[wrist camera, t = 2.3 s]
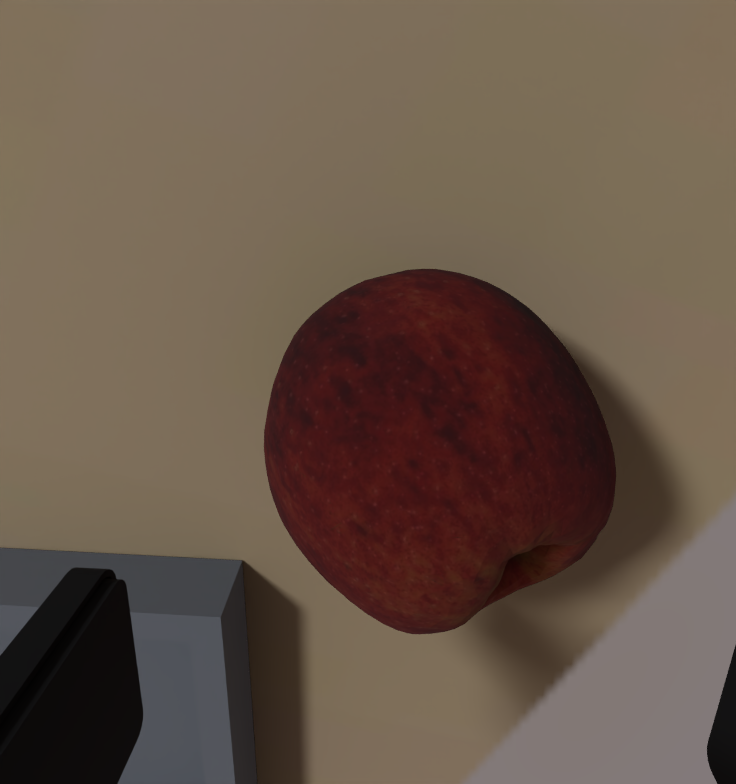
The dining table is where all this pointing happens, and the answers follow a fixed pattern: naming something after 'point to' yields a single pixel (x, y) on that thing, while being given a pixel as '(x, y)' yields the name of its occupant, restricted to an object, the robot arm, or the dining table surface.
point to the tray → (165, 656)
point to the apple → (435, 448)
